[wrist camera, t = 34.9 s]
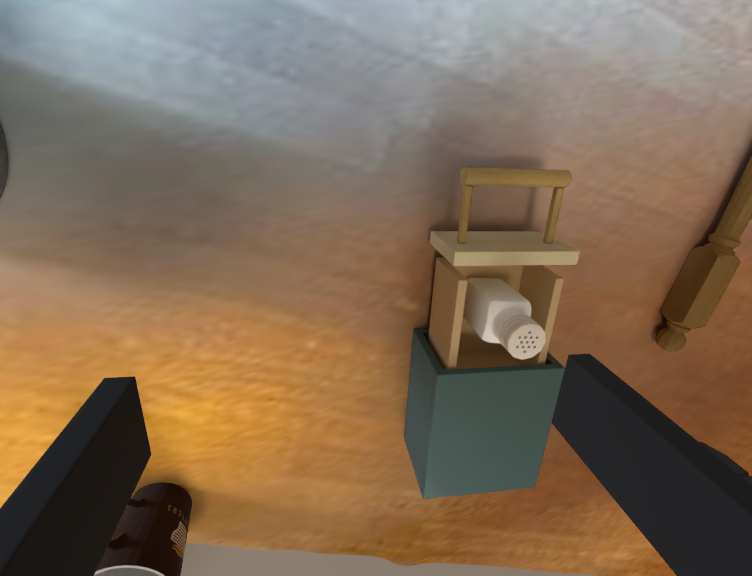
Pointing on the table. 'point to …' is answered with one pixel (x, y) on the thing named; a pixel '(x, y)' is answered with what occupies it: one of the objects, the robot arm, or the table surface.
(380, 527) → the table surface
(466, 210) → the drawer
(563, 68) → the table surface
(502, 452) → the cabinet
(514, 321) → the pepper shaker
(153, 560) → the coffee mug
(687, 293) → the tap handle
